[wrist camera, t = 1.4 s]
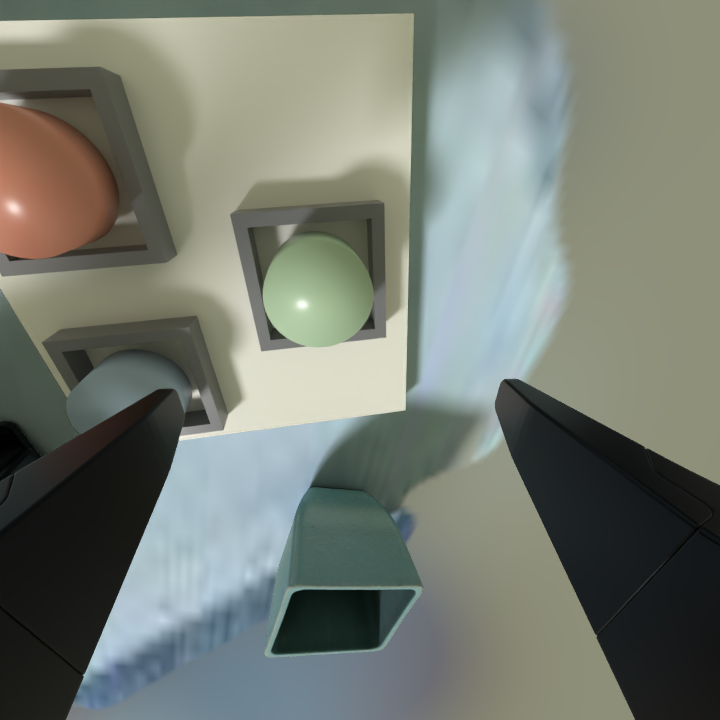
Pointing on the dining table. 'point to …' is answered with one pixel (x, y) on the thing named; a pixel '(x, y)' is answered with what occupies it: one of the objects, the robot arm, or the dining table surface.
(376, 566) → the flower pot
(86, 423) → the slate button
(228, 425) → the button panel
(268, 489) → the dining table surface
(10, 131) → the brick button
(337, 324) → the sage button
